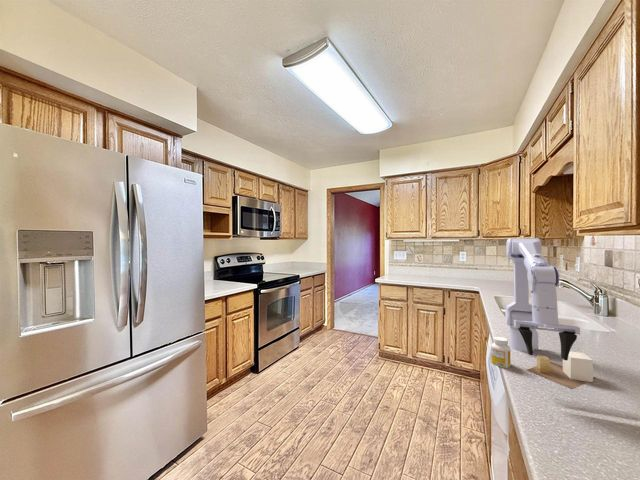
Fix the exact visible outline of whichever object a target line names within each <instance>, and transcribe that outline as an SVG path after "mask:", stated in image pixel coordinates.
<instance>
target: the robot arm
mask: <svg viewBox="0 0 640 480" xmlns="http://www.w3.org/2000/svg"><path fill="white" fill-rule="evenodd" d="M505 246H506V248H505V249H506V250H505V251H506V253H505V255H506V258H507V259H508V260H510V261H512V265H513V301H512V302H510V303H508V304H506V306H505V312H504V317H505V319H504V321H505V324H506V325H507V326H509V347H510V349H513V350H515V351H519V352H521V353H522V352H523V353H524V352H525V353H527V354H528V356H533V355H534V351H535V350H539V332H538V331H537V330H541V331H548V332H558V336H559V340H560V356H561V359H562V360H563V359H564V360H568V355H569V352H570V351H571V349H572V347H573V345H574V343H575V342H576V341H577V339H578V335H581V327H580V326H577V325H570V324H569V325H567V324H562V323H561V324H559V314H558V313H559V310H558V296H557V287H558V286H559V284H560V273H559V269H558V268H557V266H555V265H550V264H549V262H548V261H547V259H546V257H545V256H544V255H543V254H541V253H542V241H541V239H540V238H538V237H535V238H534V237H533V238H528V237H527V238H511V237H509V238H508V239H507V240H506V244H505ZM529 291H530V292H529ZM529 293H531V294H530V296H531V303H530V302H529V300H530V298H529Z"/></svg>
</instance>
